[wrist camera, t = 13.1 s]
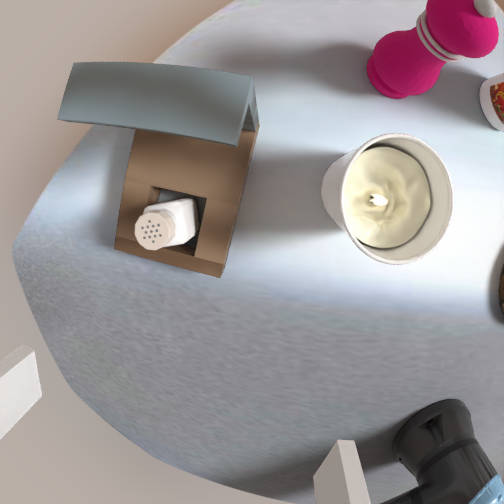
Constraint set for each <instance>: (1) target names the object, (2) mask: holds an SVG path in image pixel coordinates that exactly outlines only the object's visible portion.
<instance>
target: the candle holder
mask: <svg viewBox="0 0 504 504" xmlns="http://www.w3.org/2000/svg"><path fill="white" fill-rule="evenodd" d="M321 196H322V201H323V204H324V207H325V209H326V211H327V213H328V214H329V216H330V217H331V218H332V219H333V220H334V221H335V223H336V224H337V225H338V226H339V227H340V228H341V229H342V230H343V231H344V232H345V233H346V234H347V235H348V236H349V237H350V238H351V240H352V241H353V242H354V244H355V245H356V246H357V247H358V248H359V249H360V250H361V251H362V252H363V253H365V254H366V255H368V256H369V257H371V258H373V259H374V260H377V261H379V262H382V263H386V264H392V265H402V264H408V263H412V262H415V261H417V260H419V259H421V258H423V257H425V256H426V255H428V254H429V253H430V252H431V251H433V250H434V249H435V248H436V247H437V245H438V244H439V243H440V242H441V240H442V239H443V237H444V236H445V234H446V232H447V230H448V227H449V225H450V222H451V219H452V214H453V208H454V192H453V185H452V181H451V178H450V175H449V172H448V170H447V168H446V166H445V164H444V162H443V160H442V159H441V158H440V156H439V155H438V154H437V153H436V152H435V150H434V149H432V148H431V147H430V146H429V145H428V144H426V143H425V142H423V141H422V140H420V139H418V138H416V137H413V136H410V135H406V134H400V133H390V134H384V135H380V136H377V137H375V138H373V139H371V140H369V141H367V142H366V143H364V144H363V145H362V146H360V147H358V148H356V149H354V150H353V151H351V152H349V153H347V154H345V155H343V156H342V157H340V158H339V159H337V160H336V161H335V162H333V163H332V164H331V166H330V167H329V168H328V169H327V171H326V173H325V175H324V177H323V181H322V186H321Z"/></svg>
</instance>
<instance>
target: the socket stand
mask: <svg viewBox="0 0 504 504" xmlns="http://www.w3.org/2000/svg"><path fill="white" fill-rule="evenodd" d="M58 120H63V121H68V122H76V123H87V124H97V125H107V126H115V127H123V128H131V129H136V131H135V135H134V140H133V144H132V148H131V153H130V157H129V162H128V167H127V172H126V177H125V182H124V187H123V193H122V199H121V204H120V211H119V217H118V224H117V231H116V239H115V247H114V249H116V250H119V251H123V252H126V253H130V254H133V255H137V256H140V257H144V258H147V259H151V260H155V261H158V262H162V263H166V264H169V265H173V266H177V267H180V268H184V269H188V270H192V271H195V272H199V273H203V274H207V275H211V276H214V277H218V278H220V277H221V275H222V273H223V270H224V268H225V264H226V260H227V256H228V251H229V247H230V243H231V239H232V234H233V230H234V226H235V222H236V218H237V214H238V209H239V205H240V201H241V197H242V193H243V189H244V185H245V181H246V177H247V173H248V169H249V165H250V161H251V157H252V153H253V149H254V145H255V141H256V138H257V134H258V130H259V119H258V112H257V104H256V97H255V89H254V82H253V77H251V76H246V75H241V74H235V73H229V72H223V71H217V70H210V69H203V68H195V67H187V66H178V65H167V64H154V63H135V62H85V63H84V62H81V63H74V64H73V67H72V70H71V73H70V76H69V79H68V82H67V86H66V89H65V92H64V96H63V99H62V103H61V107H60V111H59V114H58ZM161 188H164V189H169V190H173V191H178V192H182V193H187V194H191V195H196V196H200V197H204V198H207V200H206V205H205V209H204V214H203V218H202V223H201V228H200V232H199V237H198V242H197V247H192V246H188V245H184V244H179V245H174V246H167V247H162V248H160V249H158V250H148V249H145V248H144V247H143V246H142V245H140V244H139V243H138V241H137V238H136V236H135V224H136V222H137V220H138V219H139V217H140V216H141V215H143V212H144V209H145V208H146V207H147V206H150V205H154V204H158V200H159V195H160V190H161Z"/></svg>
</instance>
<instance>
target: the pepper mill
mask: <svg viewBox="0 0 504 504" xmlns="http://www.w3.org/2000/svg"><path fill="white" fill-rule="evenodd" d="M496 14H497V6H496V4H495V2H494V1H493V0H428V1H427V5H426V10H425V11H424V12H423V13H422V14H421V15H420V16H419V17H418V19H417V22H416V27H414V28H413V29H411V30H407V31H395V32H392V33H389V34H387V35H385V36H384V37H383V38H382V39H380V40H379V41H378V43H377V44H376V46H375V48H374V52H373V55H372V56H371V57H370V59H369V60H368V63H367V74H368V77H369V79H370V82H371V83H372V85H373V86H374V87H375V88H376V89H377V90H378V91H379V92H380V93H382V94H383V95H385V96H387V97H390V98H394V99H401V98H405V97H407V96H409V95H419V94H422V93H424V92H426V91H427V90H429V89H430V88H432V86H433V85H434V84H435V82H436V81H437V80H438V77H439V74H440V71H441V68H442V67H443V65H444V64H445V63H446V62H450V63H456V62H459V61H461V60H462V59H465V58H467V57H469V58H480V57H484V56H486V55H487V54H489V53H490V52H491V51H492V50H493V49H494V48H495V46H496V44H497V42H498V36H499V33H498V26H497V22H496V20H495V17H494V16H496Z"/></svg>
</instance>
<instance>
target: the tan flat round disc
mask: <svg viewBox="0 0 504 504" xmlns="http://www.w3.org/2000/svg"><path fill="white" fill-rule="evenodd" d="M499 303H500V307H501V309H502V312H503V314H504V265H503V268H502V272H501V275H500V284H499Z"/></svg>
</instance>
